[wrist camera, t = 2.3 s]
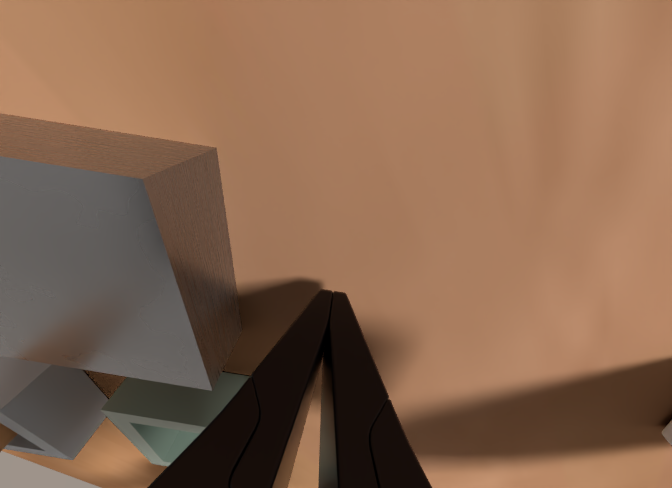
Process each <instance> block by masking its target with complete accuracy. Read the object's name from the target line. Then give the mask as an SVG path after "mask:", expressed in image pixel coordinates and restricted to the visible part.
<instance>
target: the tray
mask: <svg viewBox="0 0 672 488" xmlns="http://www.w3.org/2000/svg"><path fill="white" fill-rule="evenodd" d="M249 377H251V376H245V375H239V374H232V373H226V372H221V374H220V377H219V379H218V381H217V383H216V385H215V387H214V389H213V391H210V390H204V389H198V388H192V387H186V386H180V385H174V384H168V383H162V382H156V381H150V380H143V379H137V378H131V377H127V378H126V379H125V380H124V381H123V383H122V384H121V385H120V386H119V387H118V389H117V390H116V391H115V392H114V394H113V395H112V396H111V397H110V399H109V400H108V401H107V402H106V404H105V405H104V406H103V407H102V408H101V411H102V412H103V413H104V414H105V415H106V416H107V417H108V418H109V419H110V420H111V422H112V423H113V424H114V425H115V426H116V427H117V428H118V429H119V430H120V431H121V432H122V433H123V434H124V435H125V436H126V437H127V438H128V439H129V440H130V441H131V442H132V443H133V444H134V445H135V446H136V447H137V448H138V450H139V451H140V452H141V453H142V454H143V455H144V456H145V457H146V458H147V459H148V460H149V461H150V462H151V463H152V464H156V465H162V466H169V465H170V464H171V463H172V462H173V461H174V460H175V459H176V458H177V457H178V456H179V455H180V454H181V453H182V452H183V451H184V450H185V449H186V448H187V447H188V446H189V445H190V444H191V442H192V441H193V440H194V439H195V438H196V437H197V436H198V435H199V434H200V433H201V432H202V431H203V430H204V429H205V428H206V427H207V426H208V425H209V424H210V422H211V421H212V420H213V419H214V418H215V417H216V416H217V415H218V414H219V413H220V412H221V411H222V409H223V408H224V407H225V406H226V405H227V404H228V402H229V401H230V400H231V399H232V398H233V396H234V395H235V394H236V393H237V392H238V391H239V389H240V388H241V387H242V386H243V384H244V383H245V382H246V381H247V379H248V378H249Z"/></svg>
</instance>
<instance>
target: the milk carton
mask: <svg viewBox="0 0 672 488" xmlns="http://www.w3.org/2000/svg"><path fill="white" fill-rule="evenodd" d="M662 435H663V436H664V437H665V439H666V440H667V441H668V442H669V443H670V445H671V446H672V420H671V421H670V423H669V424H668V425H667V426H666V427H665V428H664V429H663V430H662Z"/></svg>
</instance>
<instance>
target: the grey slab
mask: <svg viewBox="0 0 672 488" xmlns="http://www.w3.org/2000/svg"><path fill="white" fill-rule="evenodd" d="M241 332H242V324H241V317H240V310H239V303H238V296H237V289H236V282H235V275H234V268H233V261H232V254H231V247H230V240H229V233H228V226H227V219H226V212H225V205H224V198H223V191H222V183H221V176H220V169H219V162H218V155H217V148H215V147H209V146H202V145H196V144H190V143H183V142H177V141H171V140H164V139H158V138H152V137H146V136H139V135H133V134H127V133H120V132H114V131H108V130H101V129H95V128H89V127H82V126H76V125H70V124H63V123H57V122H51V121H45V120H38V119H32V118H26V117H19V116H13V115H7V114H0V356H4V357H10V358H16V359H22V360H28V361H34V362H40V363H46V364H52V365H59V366H65V367H71V368H77V369H83V370H89V371H95V372H101V373H107V374H113V375H119V376H125V377H131V378H137V379H143V380H150V381H156V382H162V383H168V384H174V385H180V386H186V387H192V388H198V389H204V390H210V391H213V389H214V387H215V385H216V383H217V381H218V379H219V377H220V374H221V372H222V370H223V368H224V366H225V364H226V362H227V360H228V358H229V356H230V354H231V352H232V350H233V348H234V346H235V344H236V342H237V340H238V338H239V336H240V334H241Z"/></svg>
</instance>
